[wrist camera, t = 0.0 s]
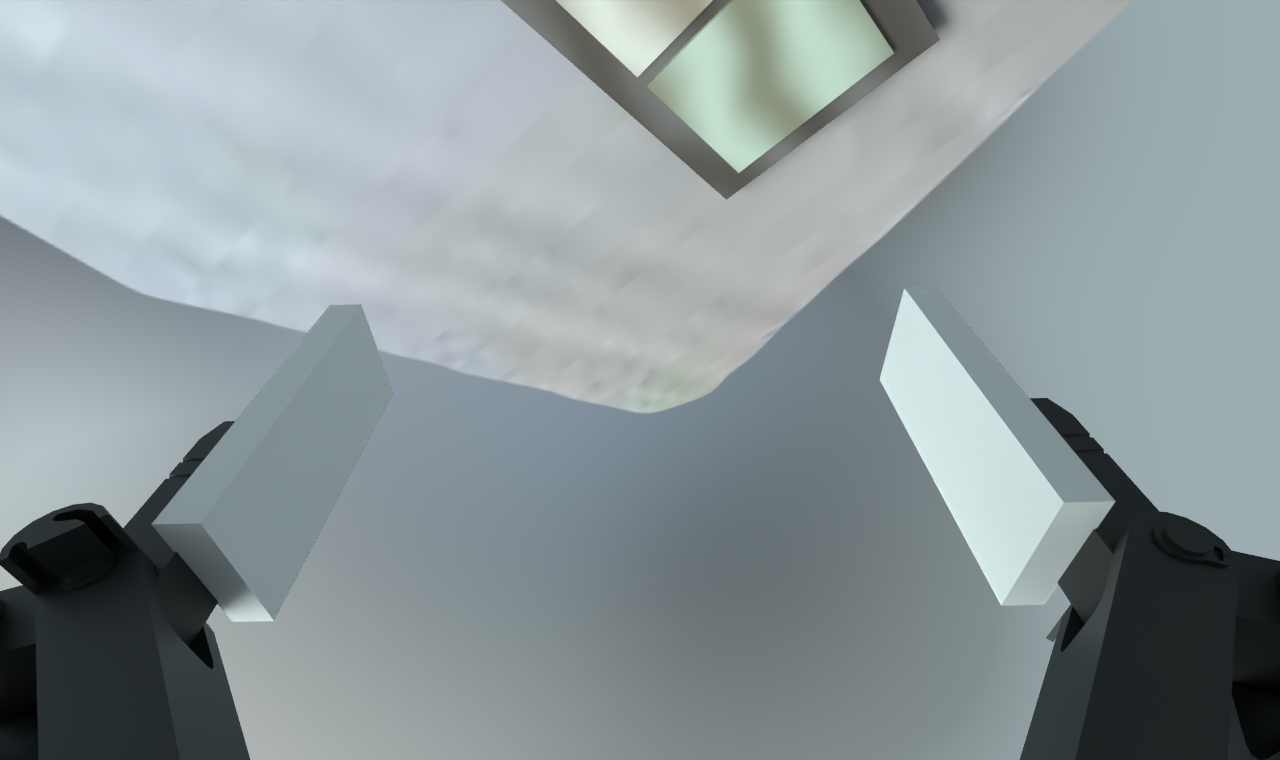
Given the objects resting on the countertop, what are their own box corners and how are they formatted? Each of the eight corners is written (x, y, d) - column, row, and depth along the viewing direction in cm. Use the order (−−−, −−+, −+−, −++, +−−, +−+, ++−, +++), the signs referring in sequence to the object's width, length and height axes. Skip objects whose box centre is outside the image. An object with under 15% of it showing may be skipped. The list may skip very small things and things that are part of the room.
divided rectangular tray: (688, -391, 22) (690, -386, 22) (933, 29, 35) (941, 42, 34) (468, -42, 32) (463, -30, 31) (724, 189, 45) (726, 202, 44)
